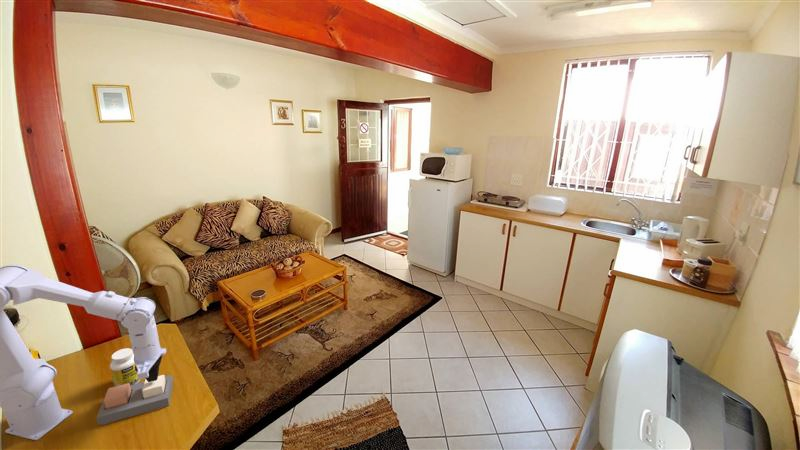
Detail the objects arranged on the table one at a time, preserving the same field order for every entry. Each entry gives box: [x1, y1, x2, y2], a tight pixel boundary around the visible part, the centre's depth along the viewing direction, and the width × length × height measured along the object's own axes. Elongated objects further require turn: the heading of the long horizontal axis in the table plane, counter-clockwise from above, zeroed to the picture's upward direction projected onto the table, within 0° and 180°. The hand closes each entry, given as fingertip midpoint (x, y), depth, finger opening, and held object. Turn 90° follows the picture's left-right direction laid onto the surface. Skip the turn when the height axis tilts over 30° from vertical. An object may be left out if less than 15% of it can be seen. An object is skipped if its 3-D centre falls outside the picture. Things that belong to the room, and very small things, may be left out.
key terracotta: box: [103, 383, 131, 409], centre depth 84 cm, size 4×4×3 cm
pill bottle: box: [109, 347, 141, 387], centre depth 92 cm, size 6×6×11 cm
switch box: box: [96, 374, 174, 427], centre depth 87 cm, size 15×9×3 cm, turn 119°
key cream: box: [142, 374, 166, 399], centre depth 88 cm, size 4×4×3 cm
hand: (153, 379), depth 87 cm, fingers closed
